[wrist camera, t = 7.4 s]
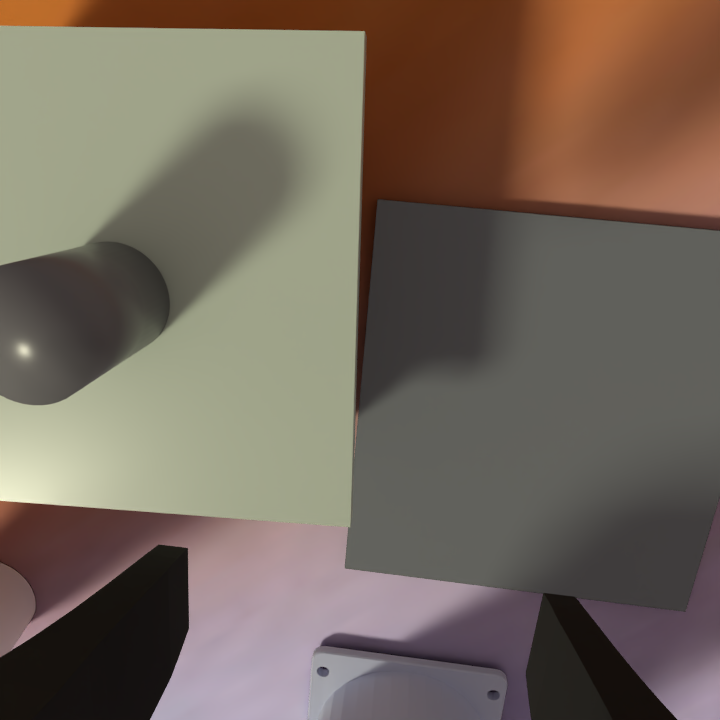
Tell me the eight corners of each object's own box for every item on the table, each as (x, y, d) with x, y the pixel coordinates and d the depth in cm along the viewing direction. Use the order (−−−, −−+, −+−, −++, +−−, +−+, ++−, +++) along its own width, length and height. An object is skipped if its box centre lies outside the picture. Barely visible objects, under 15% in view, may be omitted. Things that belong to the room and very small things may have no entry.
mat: (680, 604, 23) (685, 611, 23) (345, 561, 24) (344, 568, 24) (789, 236, 19) (797, 238, 19) (378, 199, 20) (377, 199, 20)
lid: (352, 516, 18) (332, 624, 14) (-55, 485, 19) (-192, 578, 15) (366, 36, 14) (344, -21, 10) (-145, 28, 15) (-368, -27, 11)
